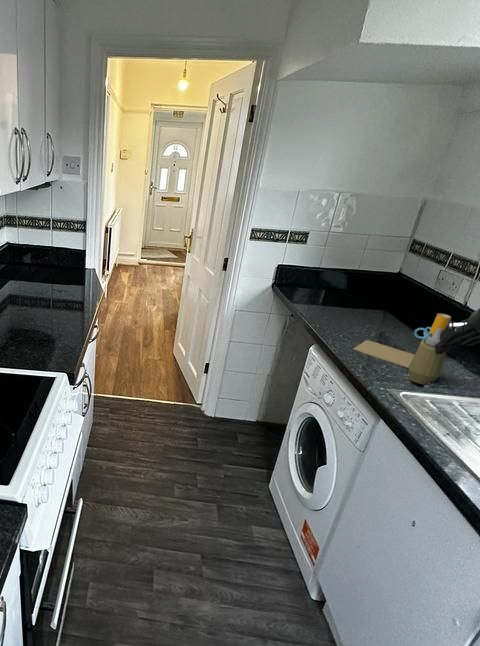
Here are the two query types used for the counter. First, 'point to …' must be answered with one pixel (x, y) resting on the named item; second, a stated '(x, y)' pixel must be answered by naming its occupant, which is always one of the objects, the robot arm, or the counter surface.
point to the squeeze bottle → (427, 361)
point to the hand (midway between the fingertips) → (438, 349)
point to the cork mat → (385, 353)
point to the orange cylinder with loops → (434, 326)
